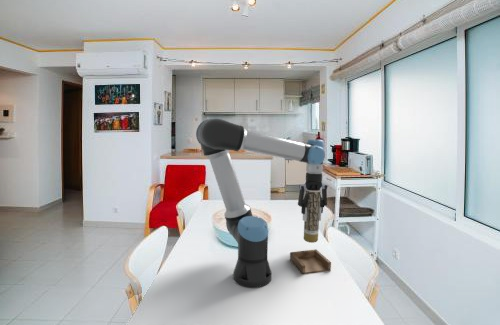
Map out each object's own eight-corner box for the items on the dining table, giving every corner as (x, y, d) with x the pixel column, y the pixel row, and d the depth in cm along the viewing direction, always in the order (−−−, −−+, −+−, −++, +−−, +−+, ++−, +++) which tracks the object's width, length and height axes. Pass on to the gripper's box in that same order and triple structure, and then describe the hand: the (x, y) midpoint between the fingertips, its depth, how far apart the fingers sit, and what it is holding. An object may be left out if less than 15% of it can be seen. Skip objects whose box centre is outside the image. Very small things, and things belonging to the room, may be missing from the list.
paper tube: (318, 243, 132) (321, 191, 129) (303, 242, 134) (305, 190, 131) (317, 238, 139) (320, 188, 136) (303, 237, 140) (306, 187, 137)
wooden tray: (302, 274, 116) (302, 265, 116) (289, 259, 128) (290, 252, 128) (330, 270, 119) (331, 262, 119) (315, 256, 132) (316, 249, 131)
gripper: (298, 174, 126) (295, 224, 129) (337, 173, 131) (334, 221, 134) (291, 171, 134) (289, 218, 136) (328, 171, 139) (326, 216, 141)
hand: (311, 220), depth 135 cm, fingers closed on paper tube, 7 cm apart
